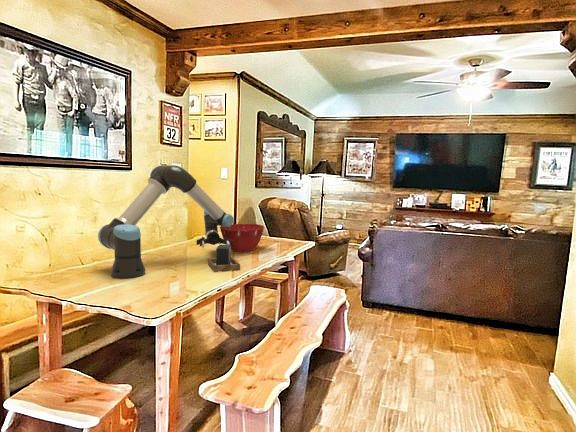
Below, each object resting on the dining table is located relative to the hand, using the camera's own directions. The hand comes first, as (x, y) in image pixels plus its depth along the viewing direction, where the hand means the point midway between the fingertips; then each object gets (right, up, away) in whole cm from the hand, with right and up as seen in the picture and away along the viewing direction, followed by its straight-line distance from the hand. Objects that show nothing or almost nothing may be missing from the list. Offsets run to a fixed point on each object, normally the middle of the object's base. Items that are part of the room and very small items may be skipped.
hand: (216, 245), depth 206 cm
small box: (+5, -10, -6) cm, 13 cm away
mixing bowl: (+9, -6, +39) cm, 41 cm away
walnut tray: (+5, -11, -7) cm, 13 cm away
